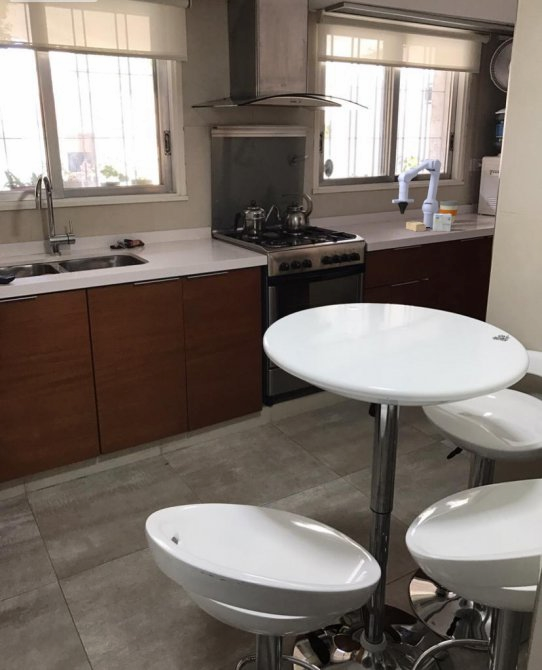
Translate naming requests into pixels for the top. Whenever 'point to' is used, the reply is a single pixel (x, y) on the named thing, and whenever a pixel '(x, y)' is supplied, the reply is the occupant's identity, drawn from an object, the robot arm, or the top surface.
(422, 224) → the lid
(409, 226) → the carton
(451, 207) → the reusable coffee cup
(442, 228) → the light bulb box
